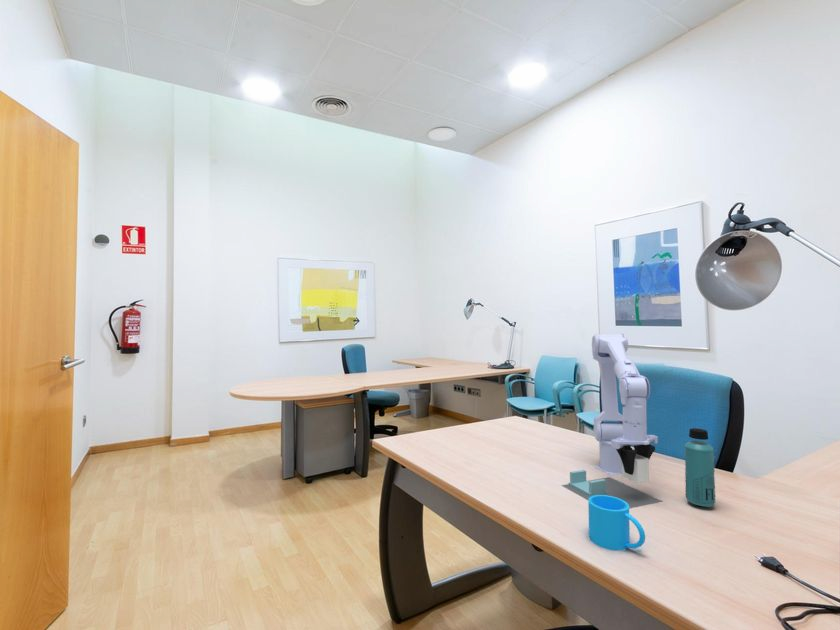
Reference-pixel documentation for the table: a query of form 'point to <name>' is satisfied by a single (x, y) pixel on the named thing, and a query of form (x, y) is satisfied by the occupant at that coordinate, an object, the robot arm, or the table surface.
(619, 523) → the mug
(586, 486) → the connector holder
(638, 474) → the connector plug
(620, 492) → the desk mat
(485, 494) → the table surface
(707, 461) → the beverage bottle
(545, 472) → the table surface
